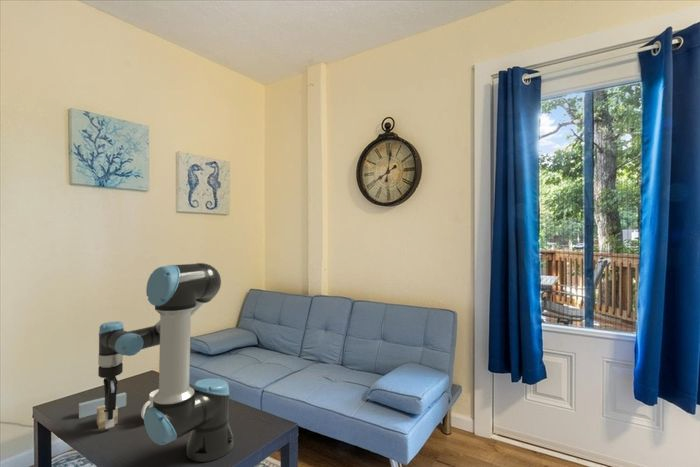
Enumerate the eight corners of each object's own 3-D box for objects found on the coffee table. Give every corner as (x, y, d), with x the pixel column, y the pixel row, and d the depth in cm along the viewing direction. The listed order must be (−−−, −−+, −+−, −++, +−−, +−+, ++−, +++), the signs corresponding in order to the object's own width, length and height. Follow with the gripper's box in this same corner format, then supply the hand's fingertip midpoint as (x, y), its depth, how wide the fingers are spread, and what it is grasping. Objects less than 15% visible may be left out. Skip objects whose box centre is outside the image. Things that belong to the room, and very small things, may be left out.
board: (126, 405, 150) (126, 394, 150) (79, 418, 139) (79, 405, 139) (125, 403, 152) (125, 392, 152) (78, 415, 141) (78, 403, 141)
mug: (147, 430, 132) (147, 403, 132) (134, 424, 136) (135, 397, 136) (176, 416, 142) (176, 391, 142) (164, 411, 146) (164, 386, 146)
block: (117, 423, 136) (117, 408, 136) (98, 429, 132) (98, 413, 132) (115, 417, 141) (115, 402, 141) (96, 422, 137) (97, 407, 137)
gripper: (125, 366, 129) (124, 430, 129) (119, 356, 138) (118, 416, 138) (100, 371, 124) (99, 438, 124) (96, 361, 134) (95, 422, 134)
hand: (109, 426), depth 131 cm, fingers closed
